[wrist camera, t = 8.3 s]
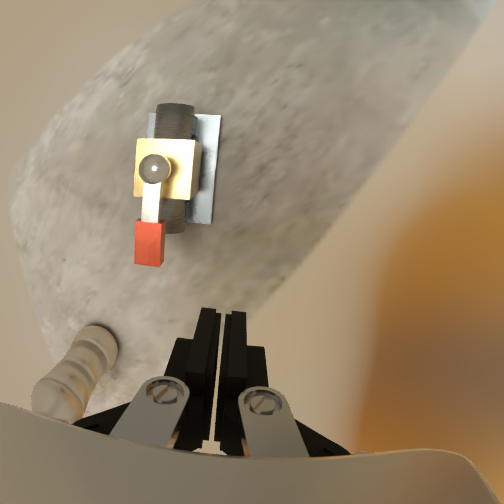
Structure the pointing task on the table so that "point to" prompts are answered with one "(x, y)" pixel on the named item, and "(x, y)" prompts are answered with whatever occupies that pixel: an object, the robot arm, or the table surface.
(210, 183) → the valve
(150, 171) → the lever
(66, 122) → the table surface
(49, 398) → the plastic bottle
